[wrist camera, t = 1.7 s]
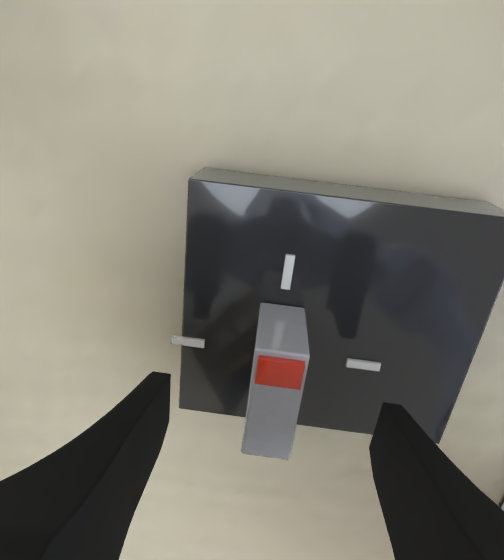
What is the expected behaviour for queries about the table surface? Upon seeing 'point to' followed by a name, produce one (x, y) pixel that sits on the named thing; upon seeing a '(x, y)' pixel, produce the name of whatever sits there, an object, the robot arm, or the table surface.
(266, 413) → the knob
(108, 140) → the table surface
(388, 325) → the panel
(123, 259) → the table surface
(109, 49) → the table surface
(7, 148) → the table surface
